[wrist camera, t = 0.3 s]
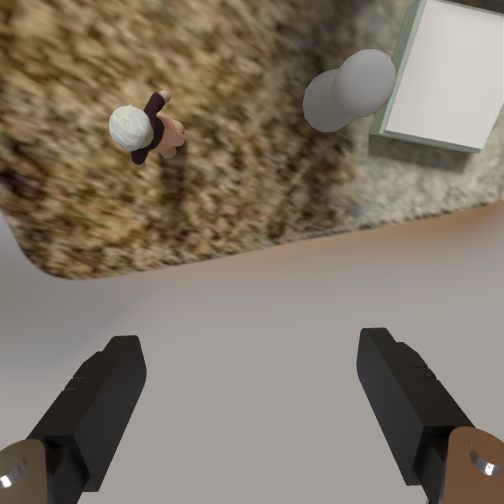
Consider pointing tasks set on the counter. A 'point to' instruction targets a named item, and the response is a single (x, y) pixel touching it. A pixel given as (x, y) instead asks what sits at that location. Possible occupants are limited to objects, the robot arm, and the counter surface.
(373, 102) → the salt shaker
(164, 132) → the grandmother figurine
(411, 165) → the counter surface
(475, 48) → the podium
